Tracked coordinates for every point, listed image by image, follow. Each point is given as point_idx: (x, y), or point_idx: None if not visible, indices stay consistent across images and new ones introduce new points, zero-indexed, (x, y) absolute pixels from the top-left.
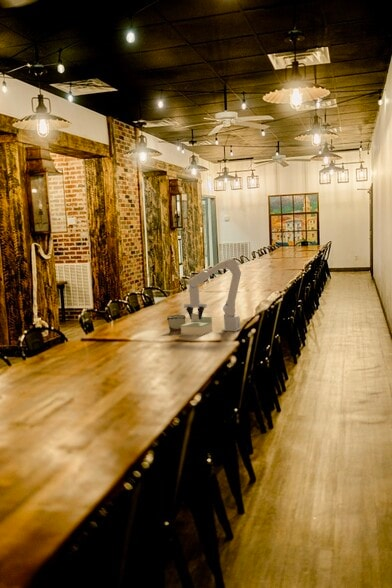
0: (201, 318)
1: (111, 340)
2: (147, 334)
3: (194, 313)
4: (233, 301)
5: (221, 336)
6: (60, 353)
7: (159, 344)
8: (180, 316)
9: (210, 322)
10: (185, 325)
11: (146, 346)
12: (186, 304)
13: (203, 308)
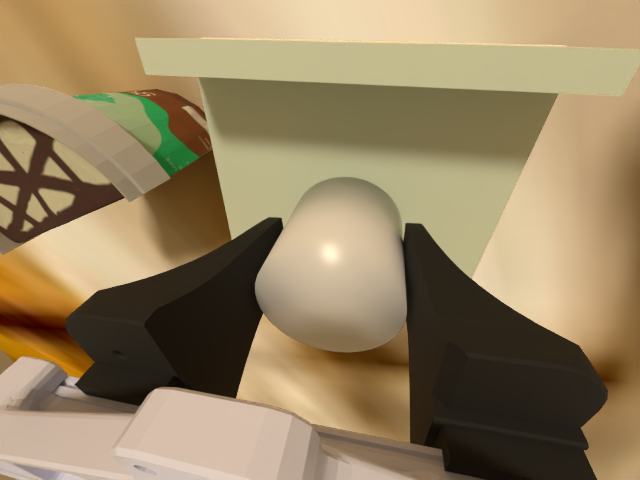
0: (424, 229)
1: (66, 329)
2: (70, 237)
3: (302, 295)
4: None
5: (636, 279)
6: None
7: (294, 387)
8: (13, 122)
9: (550, 103)
10: None
11: (266, 400)
12: (22, 472)
13: (557, 411)
